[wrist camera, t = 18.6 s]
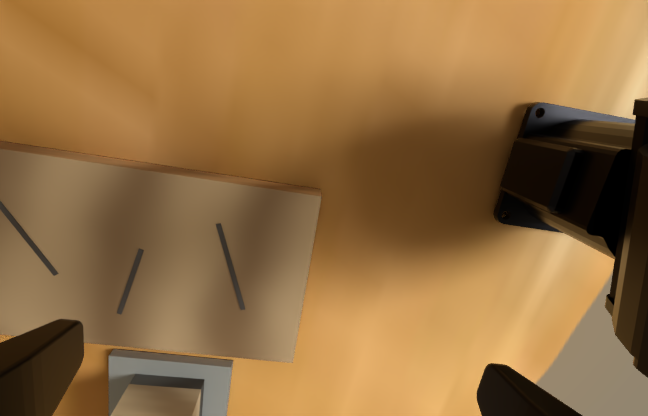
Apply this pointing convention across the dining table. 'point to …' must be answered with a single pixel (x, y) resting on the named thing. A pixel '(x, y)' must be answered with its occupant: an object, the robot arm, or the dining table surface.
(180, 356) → the mat
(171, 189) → the oak board
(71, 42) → the dining table surface
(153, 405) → the block
